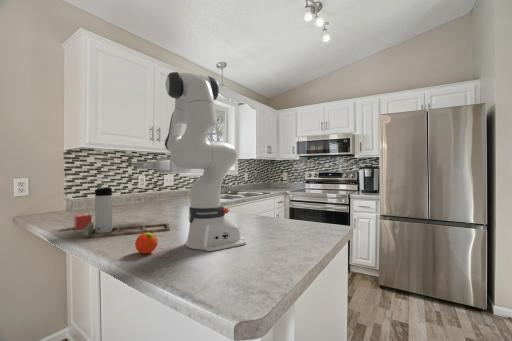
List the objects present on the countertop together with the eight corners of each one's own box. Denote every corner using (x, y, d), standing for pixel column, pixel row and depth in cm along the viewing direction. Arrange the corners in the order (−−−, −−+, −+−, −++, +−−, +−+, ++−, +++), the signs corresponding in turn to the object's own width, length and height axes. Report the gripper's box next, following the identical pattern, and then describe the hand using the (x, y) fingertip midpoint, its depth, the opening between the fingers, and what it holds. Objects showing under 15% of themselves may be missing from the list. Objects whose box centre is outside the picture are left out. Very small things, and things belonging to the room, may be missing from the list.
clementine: (164, 252, 84) (164, 231, 84) (145, 258, 78) (145, 236, 78) (149, 248, 88) (149, 228, 88) (130, 254, 82) (130, 232, 82)
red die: (89, 225, 122) (89, 213, 122) (91, 227, 118) (91, 214, 118) (74, 227, 118) (74, 214, 118) (76, 229, 114) (75, 216, 114)
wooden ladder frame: (168, 225, 124) (168, 217, 124) (170, 230, 113) (170, 221, 113) (90, 231, 111) (90, 222, 111) (83, 238, 100) (83, 228, 100)
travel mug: (99, 236, 103) (99, 188, 103) (92, 233, 107) (92, 187, 107) (115, 233, 108) (114, 187, 108) (108, 230, 112) (108, 186, 112)
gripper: (153, 159, 136) (127, 158, 125) (175, 158, 123) (149, 157, 112) (153, 171, 136) (127, 171, 125) (175, 171, 123) (149, 171, 112)
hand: (137, 165), depth 118 cm, fingers open, 8 cm apart
